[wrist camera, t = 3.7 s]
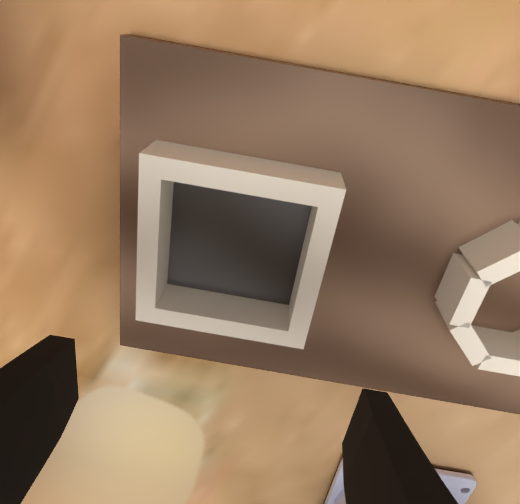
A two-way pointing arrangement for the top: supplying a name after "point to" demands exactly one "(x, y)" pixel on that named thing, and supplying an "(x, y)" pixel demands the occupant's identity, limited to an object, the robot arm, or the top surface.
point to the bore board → (319, 224)
